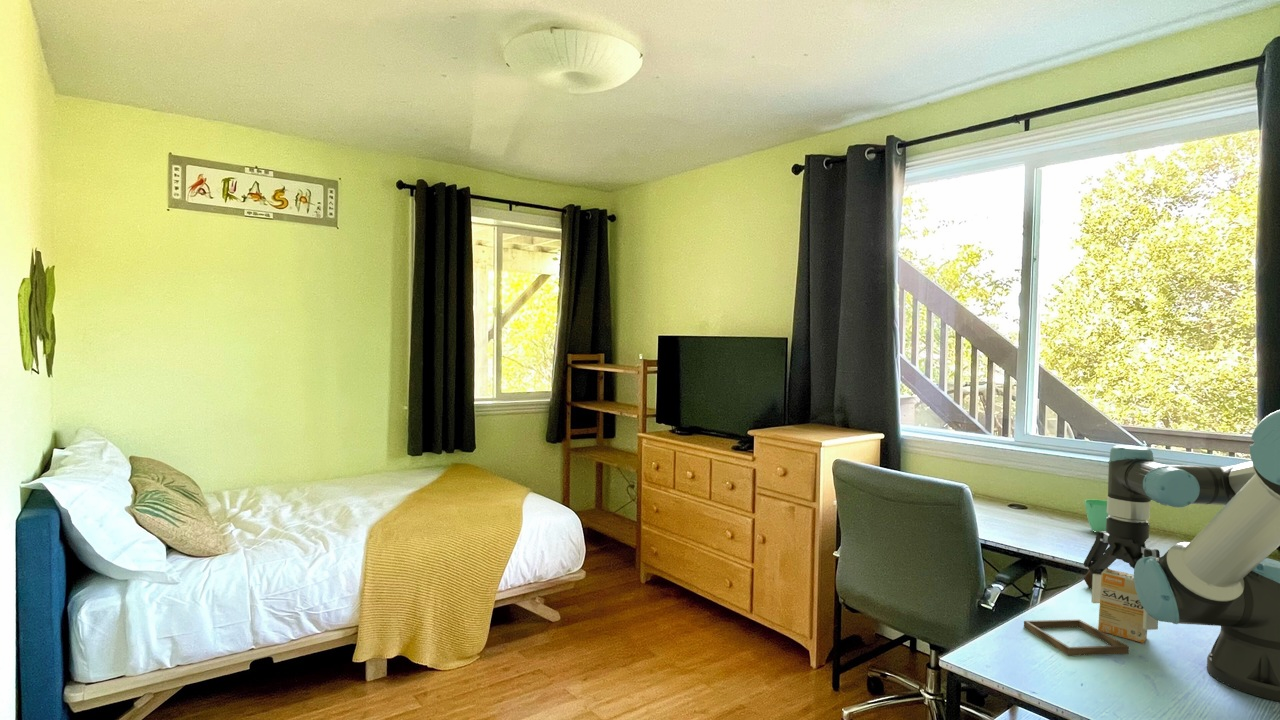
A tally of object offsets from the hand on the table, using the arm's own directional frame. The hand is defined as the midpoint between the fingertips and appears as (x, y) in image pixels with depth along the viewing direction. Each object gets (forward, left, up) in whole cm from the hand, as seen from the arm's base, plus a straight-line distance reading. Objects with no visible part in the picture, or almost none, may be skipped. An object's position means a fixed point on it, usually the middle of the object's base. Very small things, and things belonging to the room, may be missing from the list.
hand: (1122, 615), depth 145 cm
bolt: (+30, -21, -5) cm, 37 cm away
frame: (-2, +13, -4) cm, 14 cm away
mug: (+74, -62, -4) cm, 97 cm away
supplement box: (0, 0, -4) cm, 4 cm away
